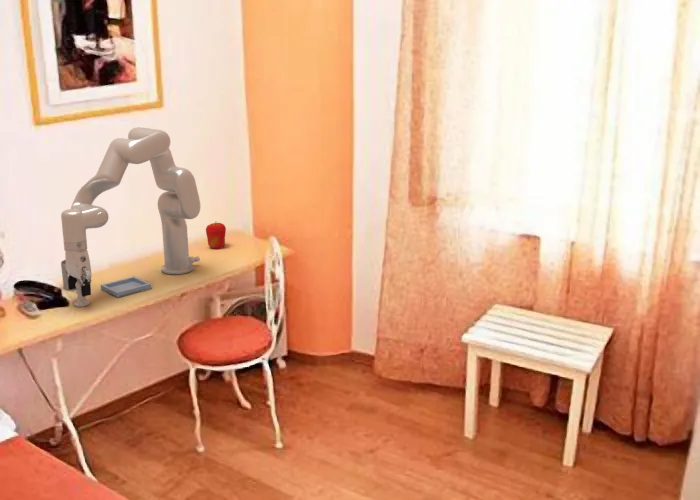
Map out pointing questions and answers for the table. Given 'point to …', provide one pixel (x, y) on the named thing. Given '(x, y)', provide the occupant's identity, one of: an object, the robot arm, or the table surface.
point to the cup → (64, 275)
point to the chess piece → (80, 296)
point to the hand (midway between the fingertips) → (79, 292)
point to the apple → (216, 235)
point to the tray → (126, 287)
